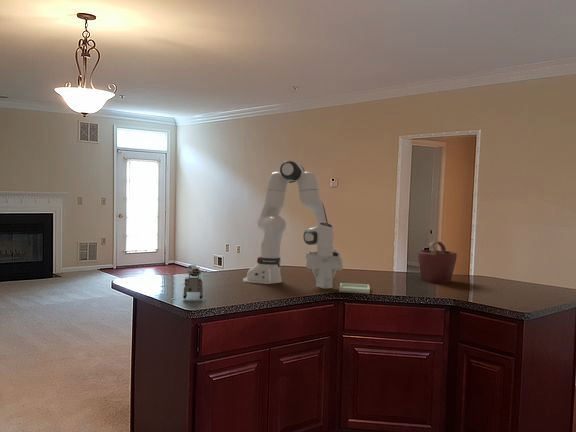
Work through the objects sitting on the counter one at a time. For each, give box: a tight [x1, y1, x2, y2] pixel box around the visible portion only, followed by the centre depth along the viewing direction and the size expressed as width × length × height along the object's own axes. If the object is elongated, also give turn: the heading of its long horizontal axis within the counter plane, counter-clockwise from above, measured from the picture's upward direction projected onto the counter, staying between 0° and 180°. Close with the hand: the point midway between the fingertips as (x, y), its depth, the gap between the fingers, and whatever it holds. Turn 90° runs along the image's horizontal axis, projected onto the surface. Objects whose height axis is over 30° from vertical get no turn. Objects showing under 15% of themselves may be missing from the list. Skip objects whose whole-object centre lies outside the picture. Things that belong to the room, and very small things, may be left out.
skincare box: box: [315, 261, 333, 290], centre depth 293 cm, size 8×6×15 cm
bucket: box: [417, 240, 458, 285], centre depth 327 cm, size 24×22×25 cm
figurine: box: [182, 264, 204, 299], centre depth 254 cm, size 9×12×15 cm
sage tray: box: [338, 282, 371, 295], centre depth 288 cm, size 16×16×2 cm
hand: (324, 277), depth 293 cm, fingers open, 8 cm apart
